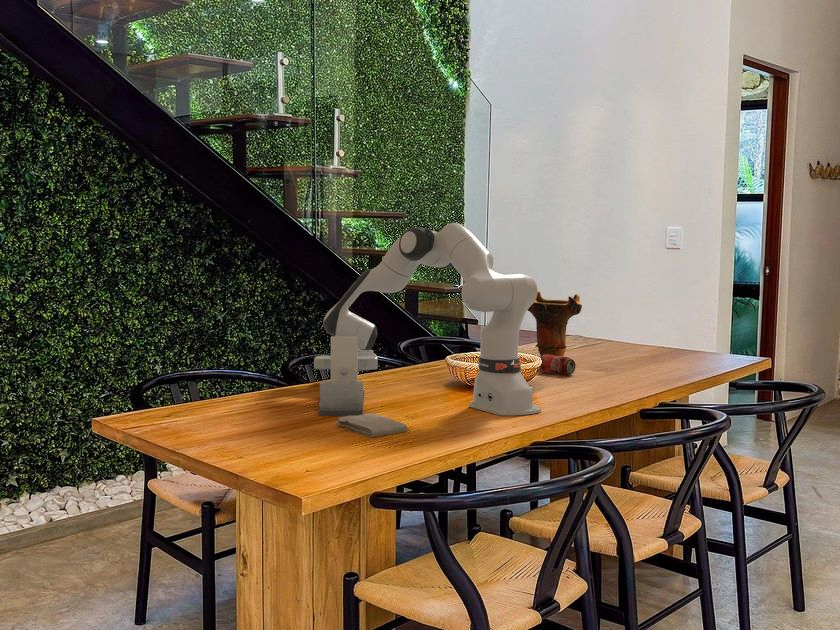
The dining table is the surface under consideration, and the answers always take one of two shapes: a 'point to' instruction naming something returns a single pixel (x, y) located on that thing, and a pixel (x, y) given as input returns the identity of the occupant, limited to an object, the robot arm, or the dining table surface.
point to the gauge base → (341, 398)
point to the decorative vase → (553, 322)
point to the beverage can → (557, 365)
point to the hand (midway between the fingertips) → (345, 366)
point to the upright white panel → (344, 358)
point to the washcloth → (371, 425)
